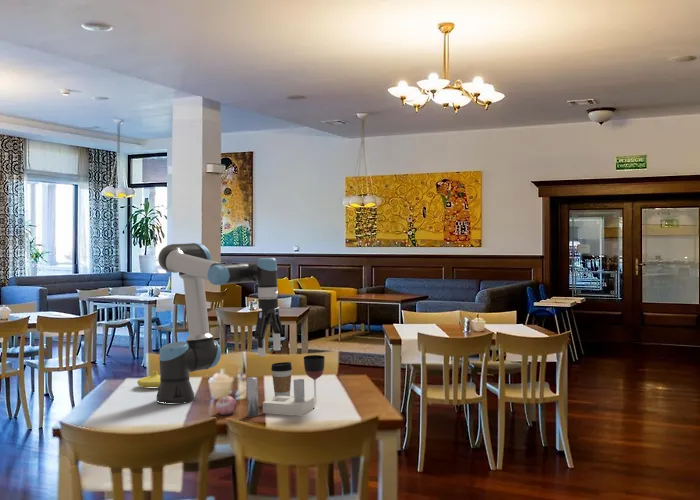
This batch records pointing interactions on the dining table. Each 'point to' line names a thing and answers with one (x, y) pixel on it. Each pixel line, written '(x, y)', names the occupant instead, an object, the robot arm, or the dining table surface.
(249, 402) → the pipe
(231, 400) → the red onion
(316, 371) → the wineglass
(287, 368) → the coffee cup
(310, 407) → the socket block
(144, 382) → the yellow knobbed lid
